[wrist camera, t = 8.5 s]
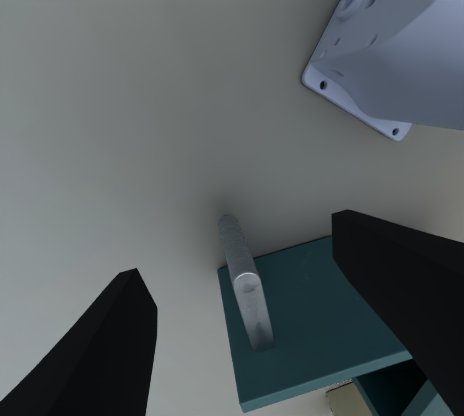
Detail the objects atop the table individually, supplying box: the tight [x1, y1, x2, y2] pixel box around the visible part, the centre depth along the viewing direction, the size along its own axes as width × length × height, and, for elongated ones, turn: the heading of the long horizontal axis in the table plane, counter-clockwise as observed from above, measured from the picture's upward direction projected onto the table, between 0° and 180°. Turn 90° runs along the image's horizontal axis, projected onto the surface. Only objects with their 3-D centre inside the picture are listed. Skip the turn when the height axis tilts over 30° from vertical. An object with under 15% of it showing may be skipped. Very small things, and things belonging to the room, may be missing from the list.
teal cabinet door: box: [218, 215, 413, 413], centre depth 16 cm, size 7×13×10 cm, turn 103°
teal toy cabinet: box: [351, 358, 454, 416], centre depth 21 cm, size 8×13×11 cm, turn 174°
